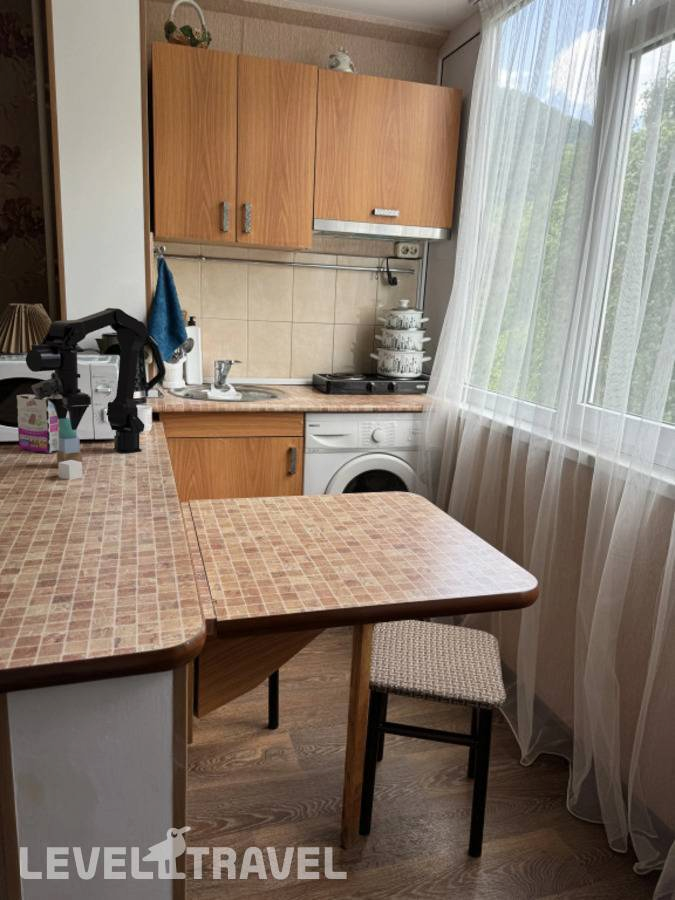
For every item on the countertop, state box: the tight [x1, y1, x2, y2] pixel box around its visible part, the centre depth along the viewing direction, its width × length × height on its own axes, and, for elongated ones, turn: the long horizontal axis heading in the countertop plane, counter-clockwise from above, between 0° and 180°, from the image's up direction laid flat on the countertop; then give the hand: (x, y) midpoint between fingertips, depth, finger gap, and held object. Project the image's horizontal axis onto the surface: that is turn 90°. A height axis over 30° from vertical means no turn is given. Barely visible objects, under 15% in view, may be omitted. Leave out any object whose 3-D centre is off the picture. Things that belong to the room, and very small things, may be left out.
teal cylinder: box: [59, 417, 78, 439], centre depth 175 cm, size 4×4×5 cm
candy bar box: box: [16, 393, 59, 454], centre depth 190 cm, size 11×5×16 cm, turn 73°
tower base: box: [56, 450, 83, 467], centre depth 177 cm, size 5×5×4 cm
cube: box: [57, 460, 83, 481], centre depth 166 cm, size 4×4×4 cm
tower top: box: [59, 436, 81, 454], centre depth 176 cm, size 4×4×4 cm
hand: (67, 426), depth 175 cm, fingers open, 9 cm apart
